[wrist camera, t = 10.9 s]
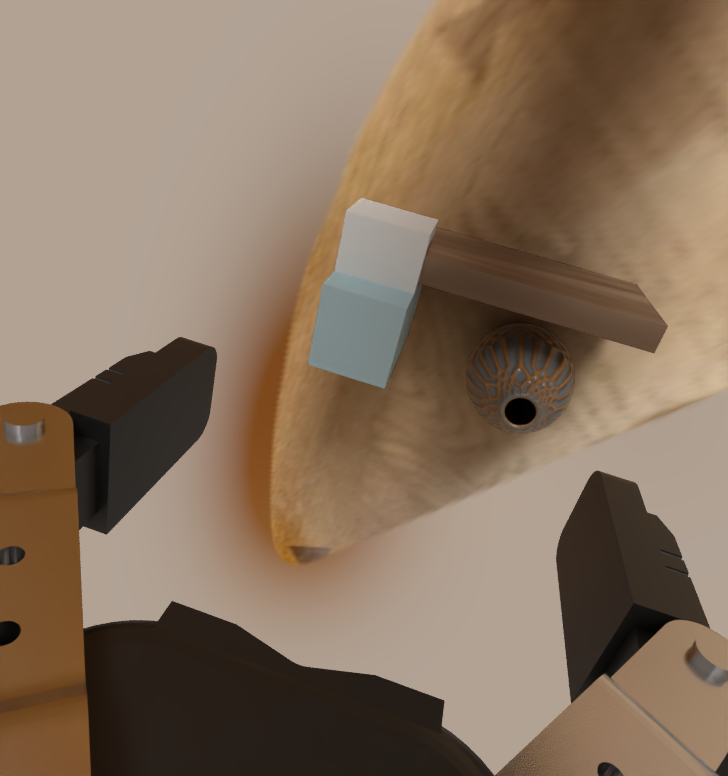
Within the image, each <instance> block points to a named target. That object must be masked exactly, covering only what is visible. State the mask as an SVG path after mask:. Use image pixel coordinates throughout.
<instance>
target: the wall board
mask: <svg viewBox="0 0 728 776" xmlns="http://www.w3.org/2000/svg"><path fill="white" fill-rule="evenodd" d="M418 283H419V284H422V285H425V286H429V287H432V288H436V289H439V290H442V291H446V292H449V293H452V294H456V295H459V296H462V297H466V298H469V299H473V300H476V301H479V302H483V303H486V304H489V305H493V306H496V307H500V308H503V309H506V310H510V311H513V312H516V313H520V314H523V315H527V316H530V317H533V318H537V319H540V320H543V321H547V322H550V323H554V324H557V325H560V326H564V327H567V328H570V329H574V330H577V331H581V332H584V333H587V334H591V335H594V336H597V337H601V338H604V339H608V340H611V341H614V342H618V343H621V344H624V345H628V346H631V347H635V348H638V349H641V350H645V351H648V352H651V353H655V351H656V349H657V347H658V345H659V343H660V341H661V339H662V337H663V335H664V333H665V331H666V329H667V327H668V326H667V324H666V323H665V322H664V320H663V319H662V317H661V316H660V315H659V313H658V312H657V311H656V309H655V308H654V307H653V305H652V304H651V303H650V301H649V300H648V299H647V297H646V296H645V295H644V293H643V292H642V291H641V289H640V288H639V287H638V285H637V284H633V283H630V282H626V281H623V280H619V279H616V278H612V277H609V276H605V275H602V274H598V273H595V272H591V271H588V270H584V269H581V268H577V267H574V266H570V265H567V264H563V263H560V262H556V261H553V260H549V259H546V258H542V257H539V256H535V255H532V254H528V253H525V252H521V251H518V250H514V249H511V248H507V247H504V246H500V245H497V244H493V243H490V242H486V241H483V240H479V239H476V238H472V237H469V236H465V235H462V234H458V233H455V232H451V231H448V230H444V229H441V228H437V227H436V231H435V234H434V236H433V238H432V240H431V242H430V244H429V246H428V249H427V253H426V256H425V260H424V263H423V267H422V271H421V274H420V278H419V281H418Z"/></svg>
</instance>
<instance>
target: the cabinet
mask: <svg viewBox="0 0 728 776" xmlns="http://www.w3.org/2000/svg"><path fill="white" fill-rule="evenodd" d="M437 224H438V220H437V219H434V218H430V217H427V216H423V215H420V214H416V213H413V212H409V211H406V210H402V209H399V208H395V207H392V206H388V205H385V204H381V203H378V202H374V201H371V200H367V199H364V198H361V199H360V200H358V201H357V202H356V203H355V204H354V205H352V206H351V207H350V208H349V209H348V210H347V211H346V215H345V220H344V225H343V231H342V236H341V241H340V246H339V251H338V256H337V261H336V266H335V271H334V272H333V273H332V274H331V275H330V276H329V278H328V279H327V280H326V281H325V282H324V283H323V286H322V291H321V296H320V302H319V307H318V312H317V318H316V323H315V328H314V334H313V339H312V344H311V350H310V355H309V360H308V365H310V366H313V367H317V368H320V369H323V370H326V371H329V372H333V373H336V374H339V375H342V376H345V377H348V378H352V379H355V380H358V381H361V382H364V383H367V384H371V385H374V386H377V387H380V388H383V389H385V387H386V385H387V383H388V380H389V378H390V376H391V373H392V371H393V369H394V366H395V364H396V362H397V359H398V357H399V355H400V352H401V350H402V348H403V345H404V343H405V341H406V339H407V336H408V334H409V331H410V328H411V324H412V320H413V317H414V313H415V310H416V306H417V303H418V299H419V296H420V292H421V289H422V284H419V283H418V281H419V278H420V274H421V271H422V267H423V263H424V260H425V256H426V253H427V249H428V246H429V244H430V242H431V240H432V238H433V236H434V234H435V231H436V227H437Z"/></svg>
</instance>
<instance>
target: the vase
mask: <svg viewBox="0 0 728 776" xmlns="http://www.w3.org/2000/svg"><path fill="white" fill-rule="evenodd" d="M574 382H575V375H574V368H573V364H572V360H571V358H570V355H569V353H568V351H567V349H566V348H565V346H564V345H563V343H562V342H561V341H560V340H559V339H558V338H557V337H556V336H554V335H553V334H552V333H551V332H549V331H547V330H546V329H544V328H541V327H539V326H536V325H532V324H526V323H514V324H509V325H505V326H502V327H499V328H497V329H495V330H493V331H492V332H490V333H489V334H487V335H486V336H485V337H484V338H483V339H482V340H481V341H480V342H479V343H478V344H477V346H476V347H475V349H474V350H473V352H472V354H471V357H470V359H469V362H468V366H467V371H466V386H467V391H468V395H469V398H470V400H471V402H472V404H473V406H474V408H475V409H476V411H477V412H478V413H479V415H480V416H481V417H482V418H483V419H484V420H485V421H486V422H488V423H489V424H491V425H492V426H494V427H496V428H498V429H500V430H503V431H506V432H510V433H530V432H535V431H538V430H541V429H543V428H545V427H547V426H548V425H550V424H551V423H553V422H554V421H555V420H556V419H557V418H558V417H559V416H560V415H561V414H562V413H563V412H564V410H565V409H566V407H567V405H568V403H569V401H570V399H571V396H572V393H573V389H574Z"/></svg>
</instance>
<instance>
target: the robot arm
mask: <svg viewBox="0 0 728 776" xmlns="http://www.w3.org/2000/svg"><path fill="white" fill-rule="evenodd" d="M216 362H217V353H216V350H215V348H214V347H211V346H208V345H204V344H201V343H198V342H195V341H192V340H188V339H186V338H182V337H179V338H177V339H175V340H174V341H172V342H171V343H170V344H168V345H166V346H165V347H163V348H162V349H160V350H159V351H157V352H156V353H154V352H151V351H148V352H144V353H140V354H136V355H132V356H128V357H126V358H124V359H122V360H121V361H119V362H117V363H116V364H114V365H113V366H111V367H110V368H109V370H105V371H103V372H102V373H100V374H98V375H97V376H96V378H95V379H91V380H89V381H87V382H86V383H84V384H83V385H81V386H79V387H78V388H76V389H75V390H73V391H72V392H70V393H68V394H67V395H65V396H64V397H62V398H60V399H59V400H57V401H56V402H54V403H52V404H51V405H50V404H45V403H39V402H17V403H10V404H6V405H1V406H0V776H494V774H493V773H492V772H491V771H490V770H489V768H488V767H487V766H486V765H485V764H484V762H483V761H482V760H481V759H480V758H479V757H478V756H477V755H476V754H475V753H474V752H473V751H472V750H471V749H470V748H469V747H468V746H467V745H466V744H465V743H464V742H462V741H461V740H460V739H459V738H457V737H456V736H455V735H454V734H453V733H451V732H450V731H448V730H447V729H445V728H444V727H442V717H443V708H444V700H441V699H438V698H436V697H433V696H430V695H428V694H425V693H422V692H419V691H417V690H414V689H411V688H409V687H406V686H403V685H400V684H398V683H395V682H392V681H389V680H387V679H384V678H381V677H378V676H376V675H369V674H360V673H352V672H344V671H336V670H327V669H319V668H311V667H304V666H300V665H298V664H296V663H294V662H292V661H290V660H289V659H287V658H286V657H284V656H283V655H281V654H280V653H278V652H277V651H275V650H274V649H272V648H271V647H269V646H268V645H266V644H265V643H263V642H262V641H260V640H259V639H257V638H256V637H254V636H253V635H251V634H250V633H248V632H247V631H245V630H244V629H242V628H241V627H239V626H238V625H236V624H233V623H231V622H228V621H225V620H223V619H220V618H217V617H214V616H212V615H209V614H206V613H203V612H201V611H198V610H195V609H193V608H190V607H187V606H184V605H182V604H179V603H176V602H173V601H172V602H171V603H170V605H169V606H168V608H167V609H166V610H165V612H164V613H163V615H162V616H161V618H160V619H159V620H158V621H143V620H140V621H139V620H132V621H131V620H130V621H119V622H111V623H106V624H100V625H95V626H91V627H88V628H84V629H83V612H82V589H81V567H80V566H81V565H80V543H79V530H80V529H81V528H82V527H83V526H84V527H87V528H90V529H93V530H96V531H98V532H101V533H104V534H108V533H109V532H110V530H111V529H112V528H113V527H114V526H115V525H116V524H117V523H118V522H119V521H120V520H121V519H122V518H123V517H124V516H125V515H126V514H127V513H128V512H129V511H130V510H131V509H132V508H133V507H134V506H135V504H136V503H137V502H138V501H139V500H140V499H141V498H142V497H143V496H144V495H145V494H146V493H147V492H148V491H149V490H150V489H151V488H152V487H153V486H154V485H155V484H156V483H157V482H158V480H160V479H161V477H162V476H163V475H164V474H165V473H166V472H167V471H168V470H169V469H170V468H171V467H172V466H173V465H174V464H175V463H176V462H177V461H178V460H179V459H180V458H181V456H182V455H184V454H185V452H186V451H187V450H188V449H189V448H190V447H191V446H192V445H193V444H194V443H195V442H196V441H197V440H198V439H199V438H200V436H201V435H202V433H203V431H204V429H205V427H206V424H207V421H208V419H209V415H210V408H211V400H212V393H213V385H214V377H215V369H216ZM681 559H682V555H681V552H680V550H679V547H678V545H677V542H676V540H675V537H674V536H673V534H672V533H671V532H670V531H669V530H668V528H667V527H666V526H665V525H664V524H663V522H662V521H661V520H660V519H659V518H658V517H657V516H656V515H653V514H650V513H647V511H646V508H645V505H644V503H643V499H642V496H641V494H640V491H639V488H638V485H637V484H636V483H634V482H631V481H628V480H625V479H622V478H619V477H616V476H613V475H609V474H607V473H603V472H600V471H595V472H594V473H593V474H592V475H591V476H590V478H589V480H588V481H587V483H586V486H585V487H584V490H583V491H582V493H581V495H580V497H579V499H578V501H577V503H576V505H575V507H574V509H573V511H572V513H571V515H570V517H569V519H568V521H567V523H566V525H565V527H564V529H563V531H562V534H561V536H560V540H559V543H558V547H557V555H556V562H557V571H558V582H559V591H560V601H561V610H562V620H563V629H564V639H565V649H566V659H567V668H568V677H569V687H570V696H571V704H570V705H569V706H568V707H567V708H566V709H565V710H564V711H563V712H562V713H561V714H560V715H559V716H558V717H557V718H556V719H554V721H552V722H551V723H550V724H549V725H548V726H547V727H546V728H545V729H544V730H543V731H542V732H541V733H540V734H539V735H538V736H537V737H535V738H534V739H533V740H532V741H531V742H530V743H529V744H528V745H527V746H526V747H525V748H524V749H523V750H522V751H521V752H520V753H518V754H517V755H516V756H515V757H514V758H513V759H512V760H511V761H510V762H509V763H508V764H507V765H506V766H505V767H504V768H503V769H502V770H500V771H499V772H498V773H497V774H496V775H495V776H728V640H727V639H726V638H725V637H723V636H722V635H720V634H719V633H717V632H715V631H713V630H712V629H710V627H709V624H708V622H707V619H706V616H705V614H704V611H703V609H702V606H701V604H700V601H699V598H698V596H697V593H696V591H695V588H694V586H693V583H692V581H691V578H690V577H688V570H687V568H686V565H685V563H684V561H683V560H681Z"/></svg>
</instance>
